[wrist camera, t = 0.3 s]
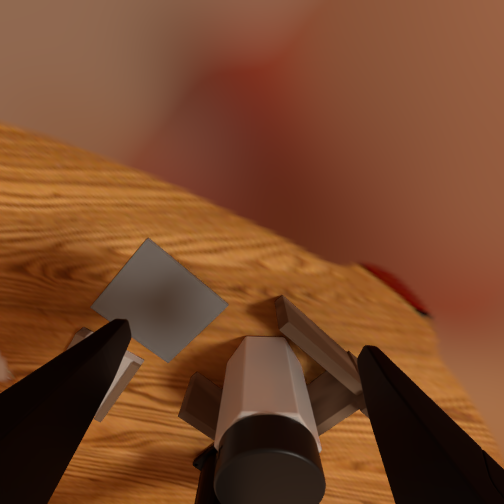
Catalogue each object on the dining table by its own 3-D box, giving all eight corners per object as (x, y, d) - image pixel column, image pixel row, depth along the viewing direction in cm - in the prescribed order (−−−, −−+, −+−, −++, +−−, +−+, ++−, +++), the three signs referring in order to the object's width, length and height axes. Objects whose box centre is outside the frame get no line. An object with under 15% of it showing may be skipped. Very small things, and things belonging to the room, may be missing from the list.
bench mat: (168, 361, 28) (168, 363, 28) (92, 306, 26) (90, 307, 25) (228, 304, 25) (228, 305, 25) (148, 237, 23) (147, 238, 23)
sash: (106, 413, 31) (100, 422, 29) (50, 385, 29) (41, 393, 28) (144, 359, 28) (139, 367, 27) (83, 326, 27) (76, 333, 25)
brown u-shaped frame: (262, 430, 31) (263, 491, 25) (189, 378, 29) (171, 432, 22) (358, 359, 27) (388, 411, 21) (284, 293, 25) (293, 329, 19)
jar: (216, 348, 27) (186, 470, 16) (277, 321, 26) (293, 431, 14) (252, 399, 29) (249, 538, 18) (309, 376, 28) (346, 509, 17)
